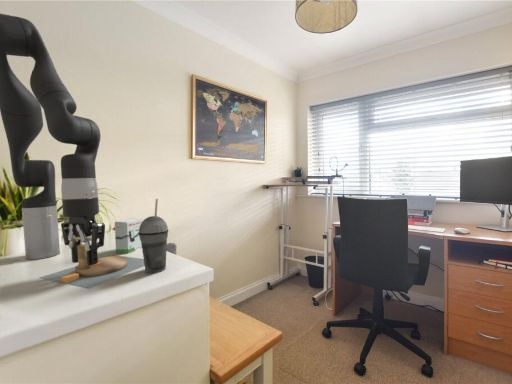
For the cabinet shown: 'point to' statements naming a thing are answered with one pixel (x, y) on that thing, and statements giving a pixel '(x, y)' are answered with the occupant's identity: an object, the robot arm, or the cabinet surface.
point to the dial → (98, 264)
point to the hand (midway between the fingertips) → (85, 262)
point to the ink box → (127, 235)
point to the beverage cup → (154, 242)
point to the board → (87, 282)
